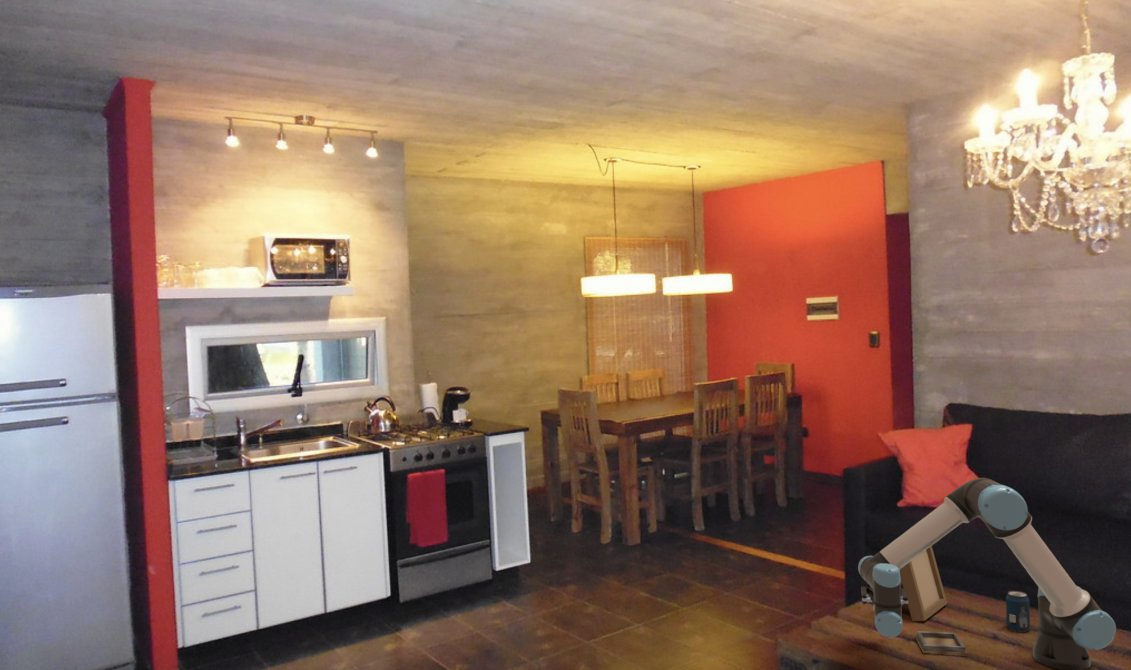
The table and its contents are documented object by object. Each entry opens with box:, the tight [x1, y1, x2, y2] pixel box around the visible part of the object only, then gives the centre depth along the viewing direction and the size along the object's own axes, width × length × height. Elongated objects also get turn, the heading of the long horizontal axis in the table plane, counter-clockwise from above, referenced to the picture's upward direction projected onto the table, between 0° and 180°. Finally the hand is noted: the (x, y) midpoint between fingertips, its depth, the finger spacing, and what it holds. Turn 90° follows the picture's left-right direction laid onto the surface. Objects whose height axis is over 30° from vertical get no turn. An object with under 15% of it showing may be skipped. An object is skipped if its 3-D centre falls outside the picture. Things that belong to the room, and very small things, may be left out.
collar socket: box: [914, 630, 969, 657], centre depth 267 cm, size 13×13×2 cm
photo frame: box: [900, 545, 948, 622], centre depth 300 cm, size 15×22×25 cm
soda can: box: [1005, 590, 1031, 633], centre depth 280 cm, size 7×7×12 cm
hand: (881, 583), depth 276 cm, fingers closed on syrup box, 6 cm apart
